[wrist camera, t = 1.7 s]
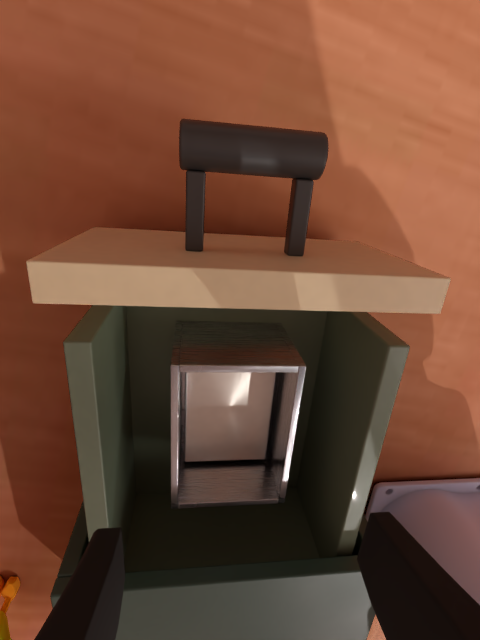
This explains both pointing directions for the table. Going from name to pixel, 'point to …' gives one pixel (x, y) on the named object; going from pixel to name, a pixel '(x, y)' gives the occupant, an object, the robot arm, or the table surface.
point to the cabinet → (238, 598)
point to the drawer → (231, 306)
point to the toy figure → (7, 603)
